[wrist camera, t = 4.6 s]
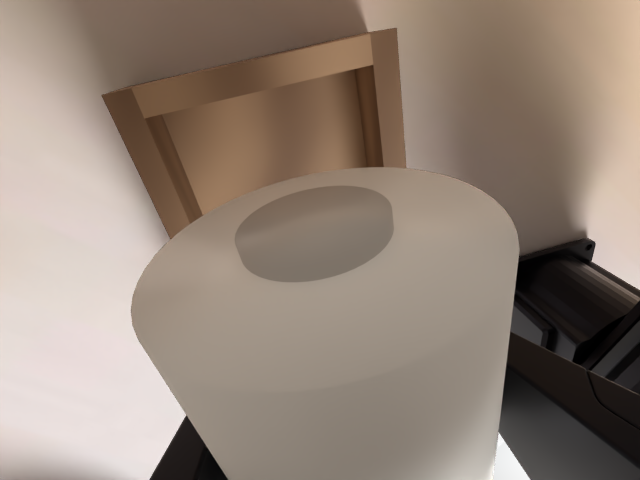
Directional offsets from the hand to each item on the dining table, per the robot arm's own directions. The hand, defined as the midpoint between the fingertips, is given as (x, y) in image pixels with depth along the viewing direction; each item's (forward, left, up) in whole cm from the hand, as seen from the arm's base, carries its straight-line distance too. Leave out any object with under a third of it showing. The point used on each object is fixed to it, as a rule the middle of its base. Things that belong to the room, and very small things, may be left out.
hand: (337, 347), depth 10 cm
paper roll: (0, 0, +2) cm, 2 cm away
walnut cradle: (0, 0, -10) cm, 10 cm away
